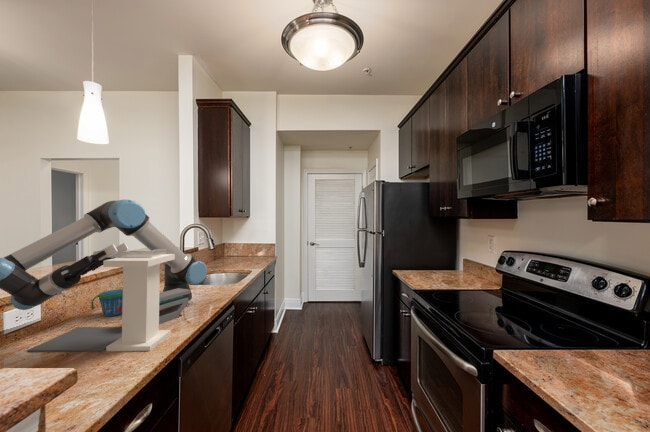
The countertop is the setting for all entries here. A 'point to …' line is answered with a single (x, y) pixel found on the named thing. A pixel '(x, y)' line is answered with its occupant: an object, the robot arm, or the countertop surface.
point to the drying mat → (81, 340)
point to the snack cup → (110, 302)
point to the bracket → (137, 254)
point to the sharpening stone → (172, 304)
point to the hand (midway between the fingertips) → (120, 246)
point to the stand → (140, 303)
